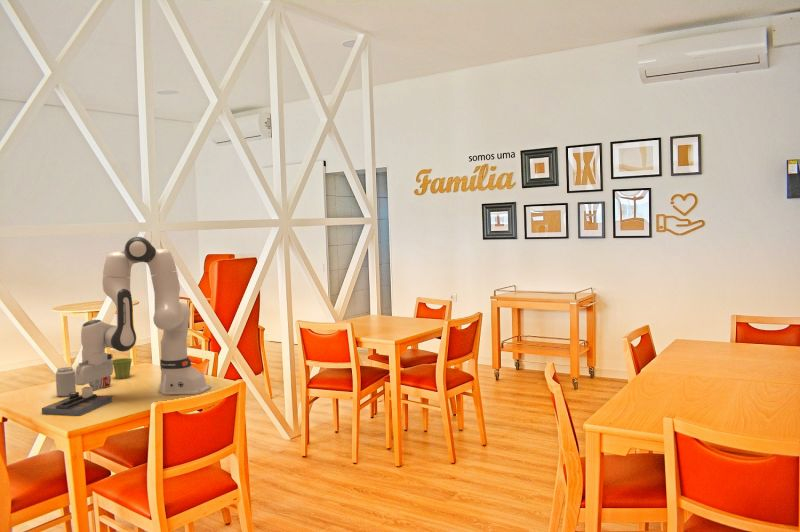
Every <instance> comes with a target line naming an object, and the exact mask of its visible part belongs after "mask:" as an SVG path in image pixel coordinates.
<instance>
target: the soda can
mask: <svg viewBox="0 0 800 532" xmlns="http://www.w3.org/2000/svg"><path fill="white" fill-rule="evenodd" d="M111 376H112V375H110V376H107V377H104V378H102V379H101V382H100V385H99V389H106V388H109V386H110V385H111V381H112V380H111V379H112V378H111ZM105 387H106V388H105Z"/></svg>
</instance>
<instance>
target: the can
mask: <svg viewBox="0 0 800 532" xmlns="http://www.w3.org/2000/svg"><path fill="white" fill-rule="evenodd" d="M75 372H76V370H75V369H74V367H71V366H65V367H58V368H57V369H56V372H55V383H56V386H55V387H56V395H57V396H58V397H62V398H64V397H67V398H68V397H69V393H71V392H77V391H76V390H77V387H76V386H77V385H76V384H75Z"/></svg>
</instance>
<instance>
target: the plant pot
mask: <svg viewBox="0 0 800 532" xmlns="http://www.w3.org/2000/svg"><path fill="white" fill-rule="evenodd" d="M111 360H112V361H113V372H114V375H115V378H116V379H117V380H118V379H121V380H122V379H128V378H130V373H131V367H132V366H131V364H132V361H133V358H129V357H127V358H126V357H123V358H121V357H120V358H115V359H111Z"/></svg>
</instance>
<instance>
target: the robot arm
mask: <svg viewBox="0 0 800 532" xmlns="http://www.w3.org/2000/svg"><path fill="white" fill-rule="evenodd" d="M137 263H146V264H147V265H148V268H149V273H150V276H151V284H152V286H153V287H152V288H153V292H154V314H153V318H152V319H153V323H154V325H155V326H156V328H157V329H159V330H162V337H161V340H160V354H161V355H160V356H161V357H160V362H159V363H160V370H161V373H160V374H161V375H160V383H159V389H158V391H159V392H160V393H161V394H162V395H169V396H171V395H197V394H201V393H205V392H206V391H208V390H210V389H211V387H212V385H211V384H210V383H206V378H205V375H204V374H203V373H202V372H201V371H199V370H198V369H197V368H195V367H194V366H193V365H192V362H193V360H194V359H193V358H191V359H190V358H189V357H188V345H187V344H188V343H187V341H188V333H189V323H190V316H191V309H190V306H189V305H187V304H186V303H184V302H182V301H180V293H181V292H180V291H181V286H180V280H179V275H178V271H177V265H176V263H175V260H174V257H173V255H172V253H171V251H170V250H168V249H165V248H155V247H154V246H153V245H152V244H151V242H150V240H148V239H147V238H145V237H142V236H134V237H131V238H130V239H128V240H127V242H126V243H125V246H124V248H123V250H121V251H112V252H109V253H108V254H107V255H106V256H105V260H104V265H103V270H102V271H103V272H102V290H103V292H104V294H105V295H106V296H108V298H110V300H111V301H112V302H113V303H114V305H115V308H116V310H115V311H116V325H113V324H109V323H107V322H104V321H102V320H100V319H94V320H93V319H92V320H89V321H86V322H85V323H83V324H82V325H81V330H80V331H81V332H80V333H81V334H80V342H81V343H80V344H81V346H82V350H81V359H82V360H81V362H79V363H78V365H77V366H76V369H75V385H76V386H85V385H89V387H93V392H96V391H99V390H100V388H99V385H100V382H101V379H102V378H104V377H107V376H112V375H113V373H114V366H113V361H112V360H113V357H114V356H113V354H112V353H108V352H107V353H106V350H105V349H106V348H110V349H113V350H116V351H118V352H123V353H124V352H128V351H130V350H131V349H132V348H134V347H135V344H136V343H137V333H136V331H135V327H134V319H133V318H134V317H133V311H134V310H133V297H132V292H131V272H132V267H133V266H134V265H135V264H137Z"/></svg>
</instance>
